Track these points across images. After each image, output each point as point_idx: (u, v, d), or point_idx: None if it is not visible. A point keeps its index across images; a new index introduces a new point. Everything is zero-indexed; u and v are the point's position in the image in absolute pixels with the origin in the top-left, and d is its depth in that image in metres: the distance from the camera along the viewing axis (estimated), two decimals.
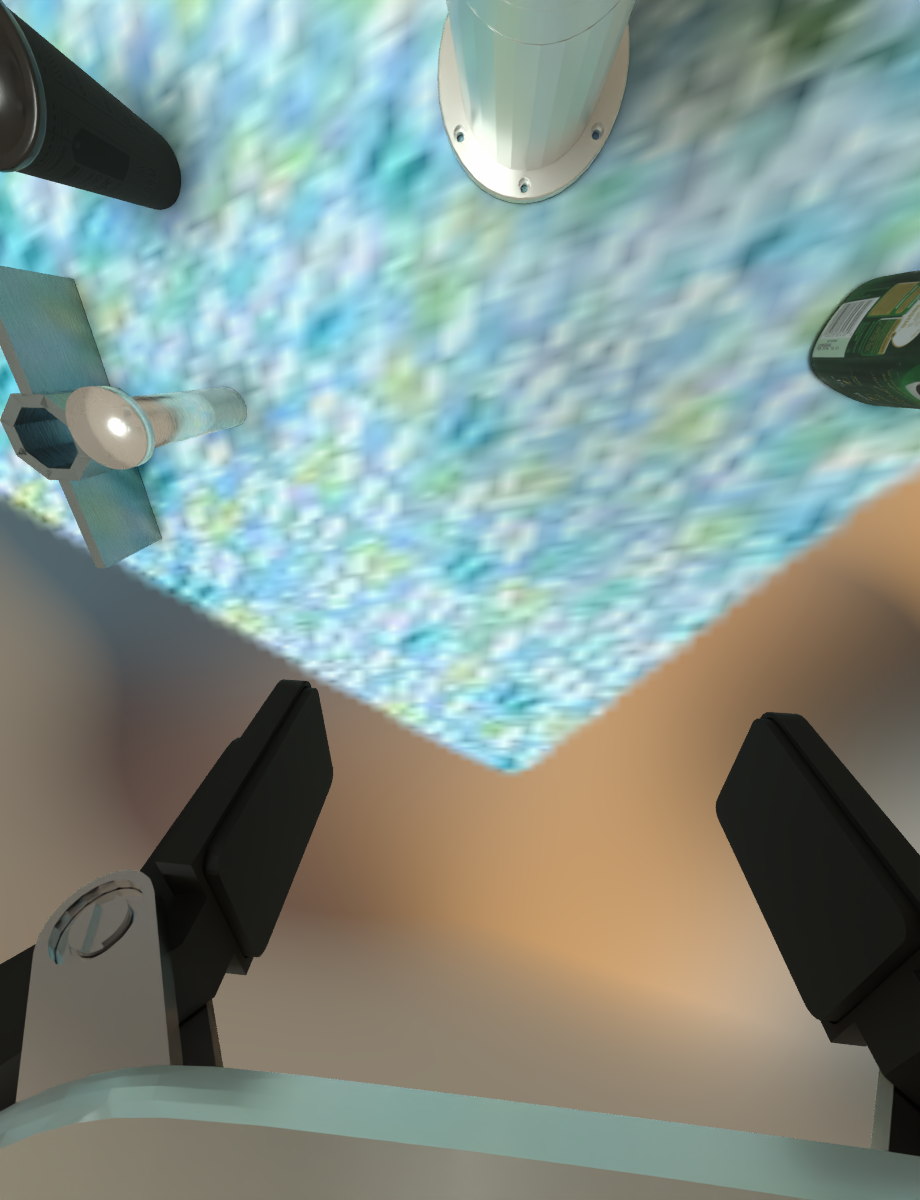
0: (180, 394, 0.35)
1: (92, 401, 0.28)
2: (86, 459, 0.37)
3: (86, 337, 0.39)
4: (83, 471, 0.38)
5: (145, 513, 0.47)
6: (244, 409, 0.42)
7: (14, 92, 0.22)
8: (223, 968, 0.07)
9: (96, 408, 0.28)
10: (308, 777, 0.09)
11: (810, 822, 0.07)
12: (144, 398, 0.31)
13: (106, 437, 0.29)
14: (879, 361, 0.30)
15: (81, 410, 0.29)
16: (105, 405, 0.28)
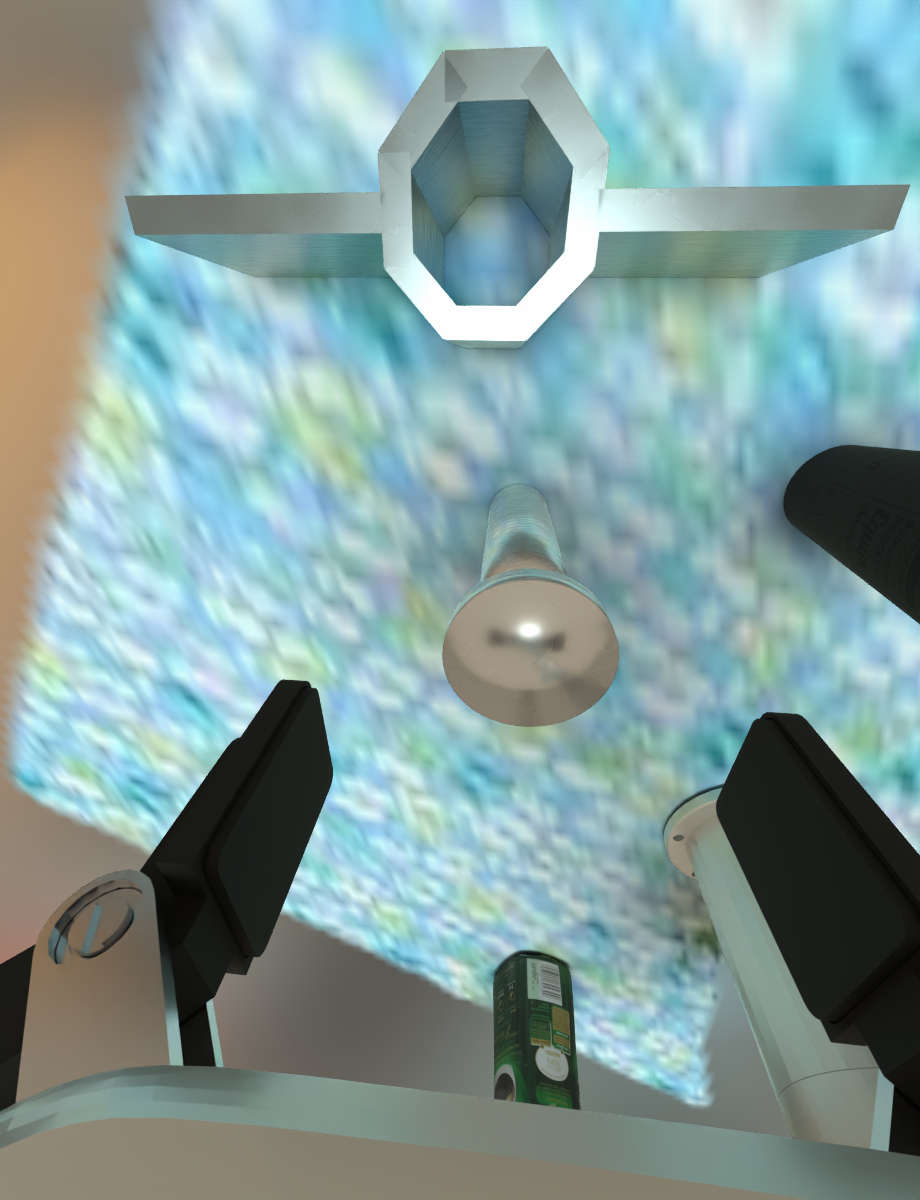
0: None
1: (588, 660, 0.13)
2: (439, 322, 0.15)
3: (664, 274, 0.20)
4: (410, 299, 0.15)
5: (309, 273, 0.21)
6: None
7: None
8: (223, 968, 0.07)
9: (573, 662, 0.13)
10: (308, 777, 0.09)
11: (810, 822, 0.07)
12: None
13: (512, 657, 0.13)
14: (526, 1040, 0.44)
15: (572, 630, 0.12)
16: (576, 681, 0.13)
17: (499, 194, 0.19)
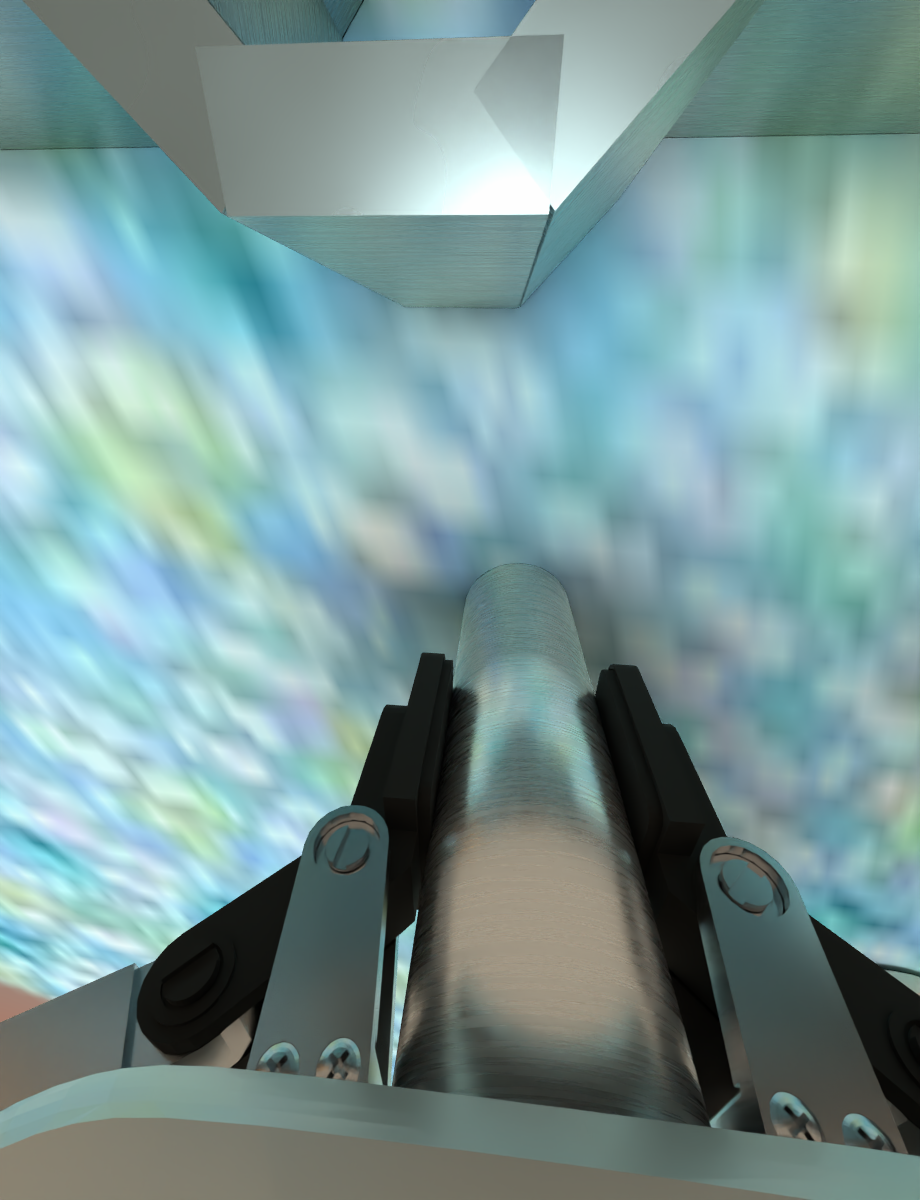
0: None
1: None
2: (190, 136, 0.04)
3: (868, 116, 0.08)
4: (41, 16, 0.03)
5: (34, 126, 0.09)
6: None
7: None
8: (418, 897, 0.07)
9: None
10: None
11: (618, 749, 0.08)
12: None
13: None
14: None
15: None
16: None
17: None
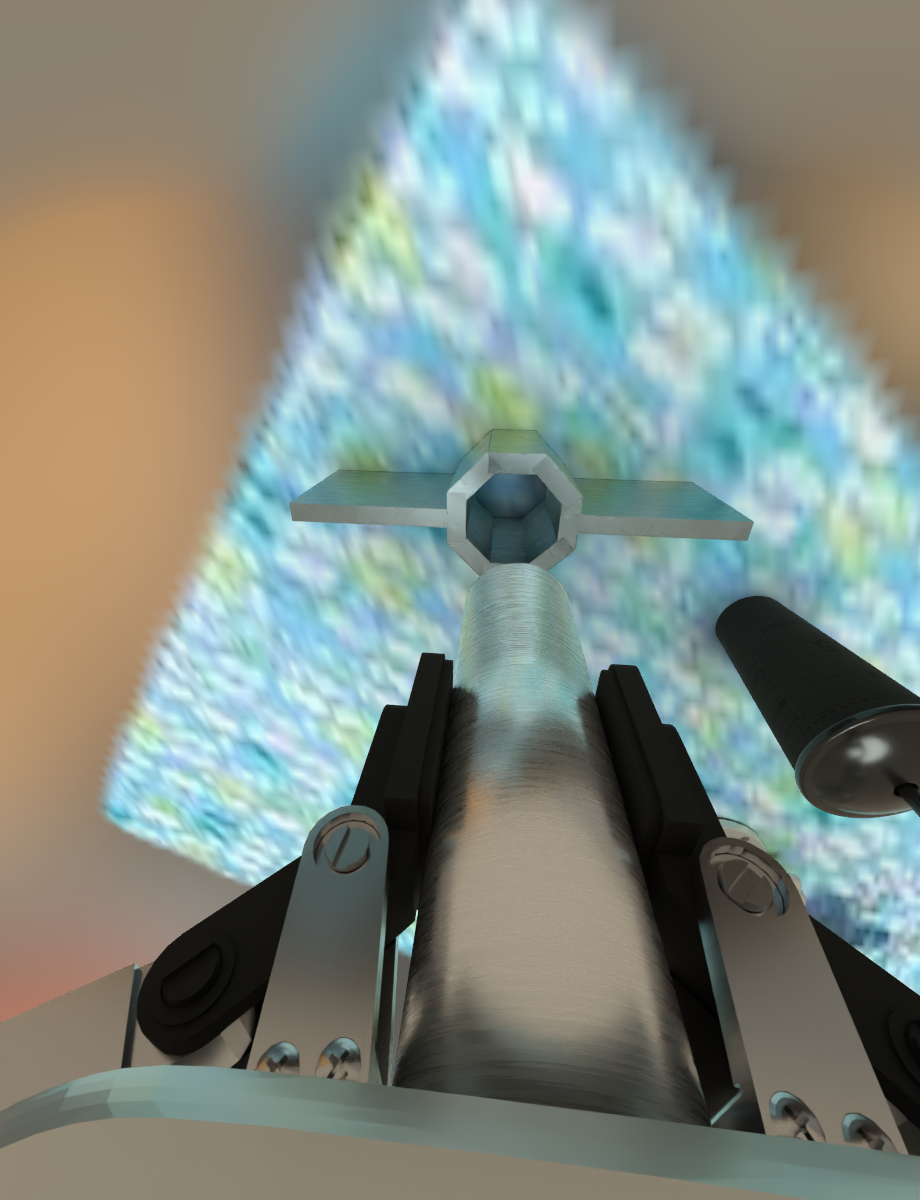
0: None
1: None
2: (480, 570, 0.24)
3: None
4: (462, 558, 0.24)
5: None
6: None
7: None
8: (417, 898, 0.07)
9: None
10: None
11: (618, 749, 0.08)
12: None
13: None
14: None
15: None
16: None
17: None
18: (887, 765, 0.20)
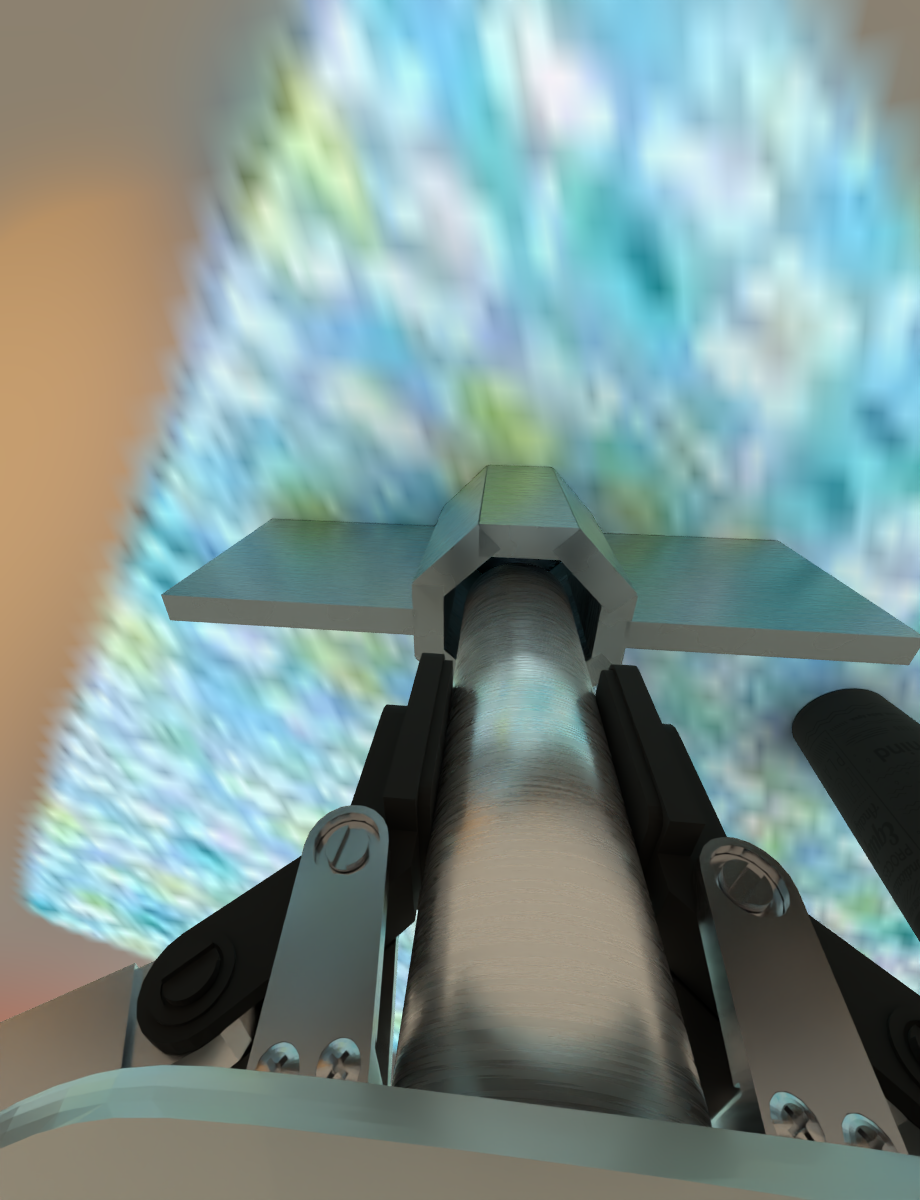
0: None
1: None
2: None
3: None
4: None
5: None
6: None
7: None
8: (418, 897, 0.07)
9: None
10: None
11: (618, 749, 0.08)
12: None
13: None
14: None
15: None
16: None
17: None
18: None
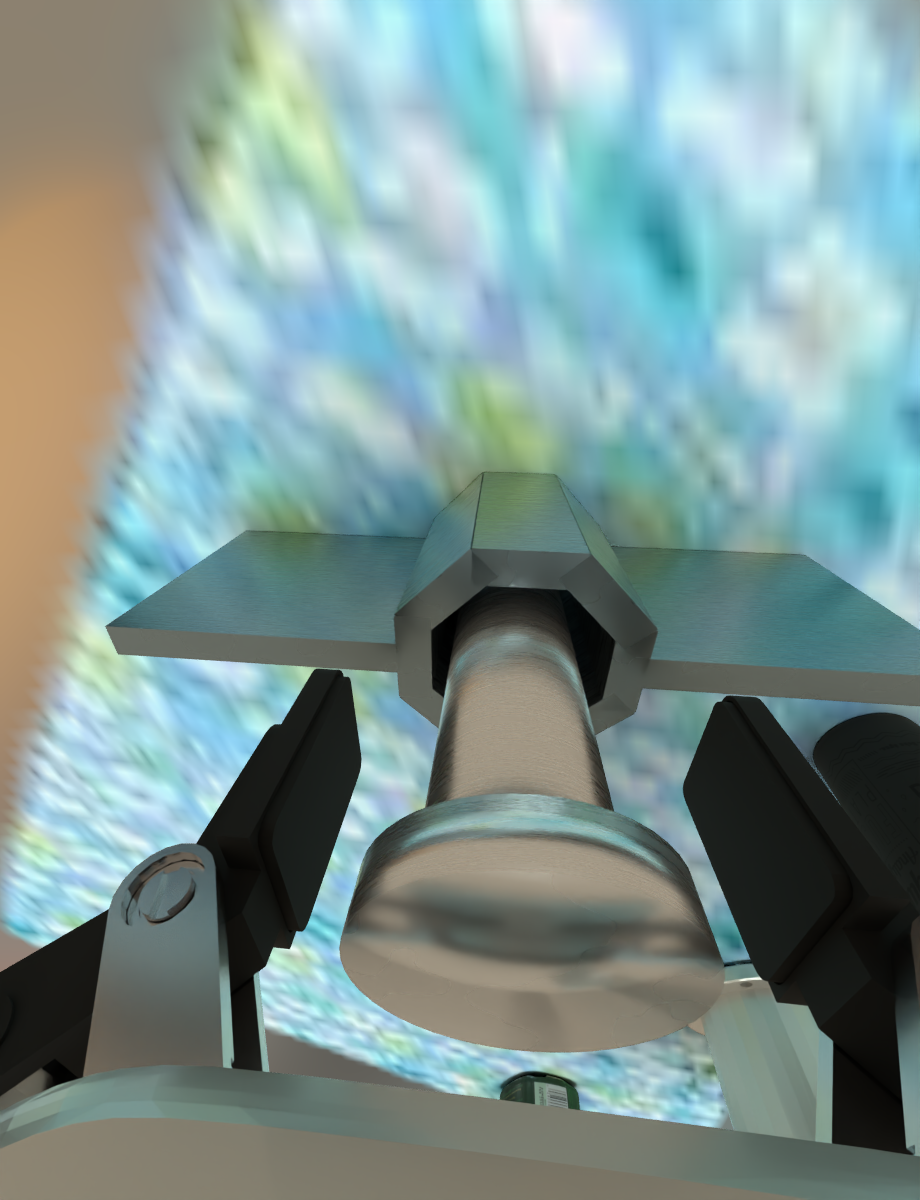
0: None
1: (652, 986, 0.06)
2: None
3: None
4: (428, 719, 0.13)
5: None
6: None
7: None
8: (272, 939, 0.07)
9: (619, 987, 0.06)
10: (342, 762, 0.09)
11: (760, 796, 0.07)
12: None
13: (488, 972, 0.06)
14: None
15: (622, 946, 0.05)
16: (624, 1011, 0.06)
17: None
18: None
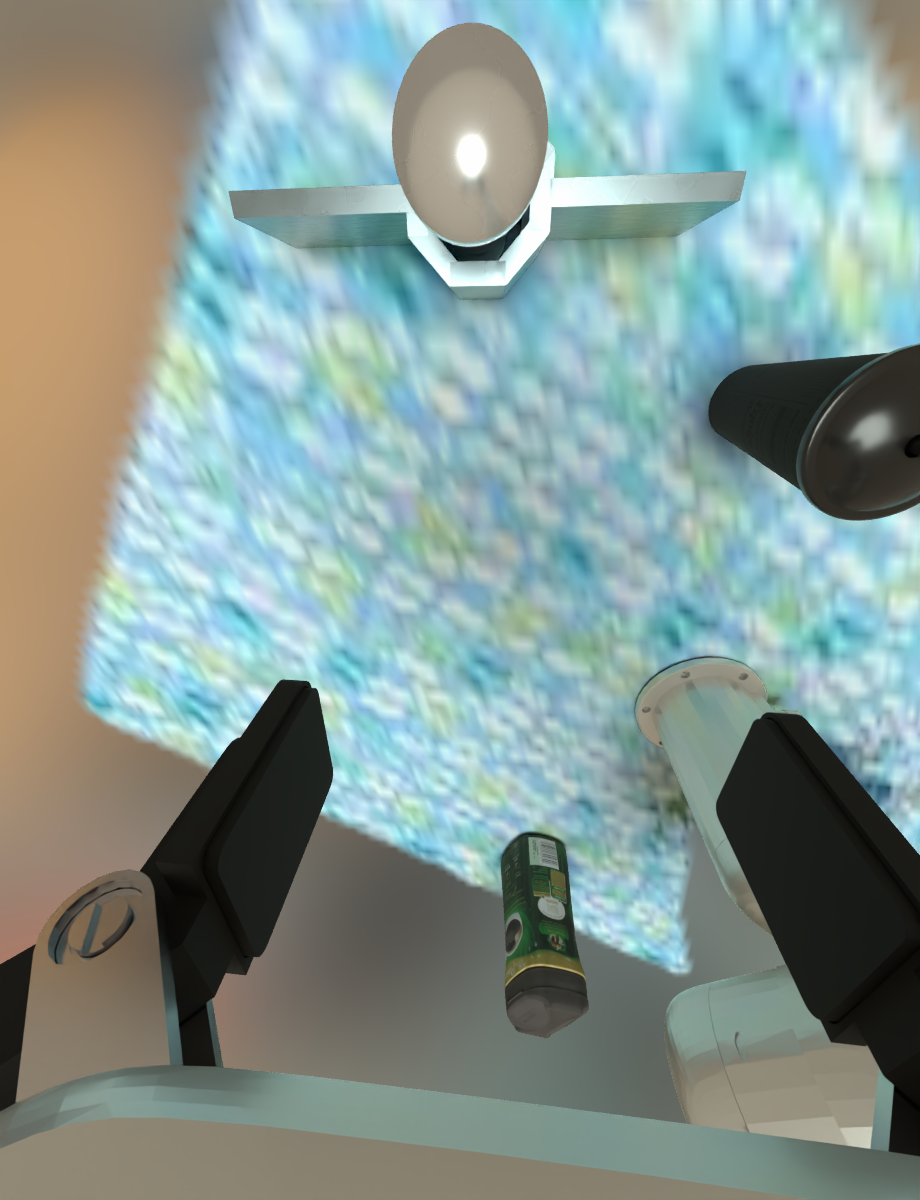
0: None
1: (521, 131, 0.14)
2: (446, 274, 0.22)
3: (606, 236, 0.26)
4: (426, 258, 0.22)
5: (340, 243, 0.27)
6: None
7: (850, 498, 0.21)
8: (223, 968, 0.07)
9: (508, 136, 0.14)
10: (308, 777, 0.09)
11: (810, 822, 0.07)
12: None
13: (454, 137, 0.15)
14: (530, 893, 0.53)
15: (504, 88, 0.14)
16: (513, 165, 0.15)
17: None
18: (898, 414, 0.18)
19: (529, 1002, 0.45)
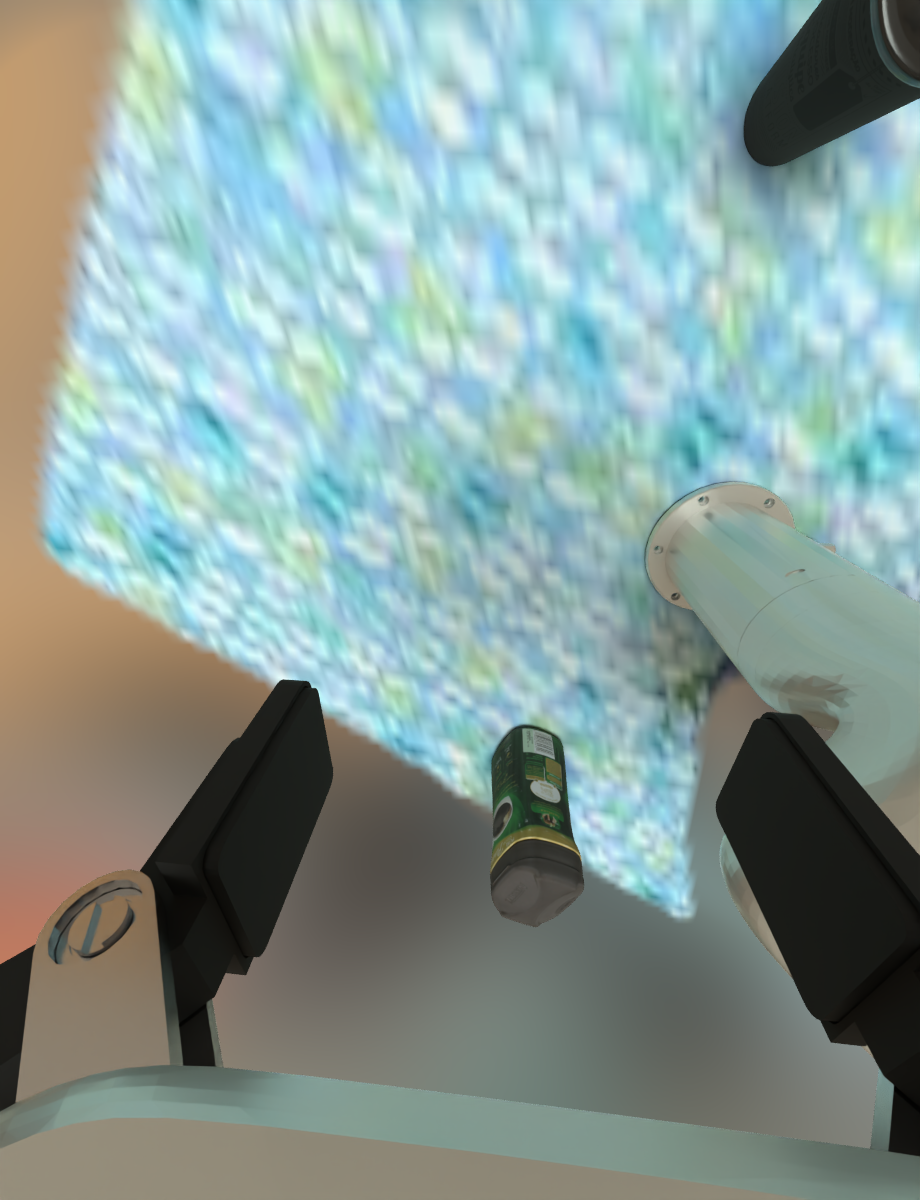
0: None
1: None
2: None
3: None
4: None
5: None
6: None
7: None
8: (223, 968, 0.07)
9: None
10: (308, 777, 0.09)
11: (810, 822, 0.07)
12: None
13: None
14: (522, 777, 0.48)
15: None
16: None
17: None
18: None
19: (517, 876, 0.40)
